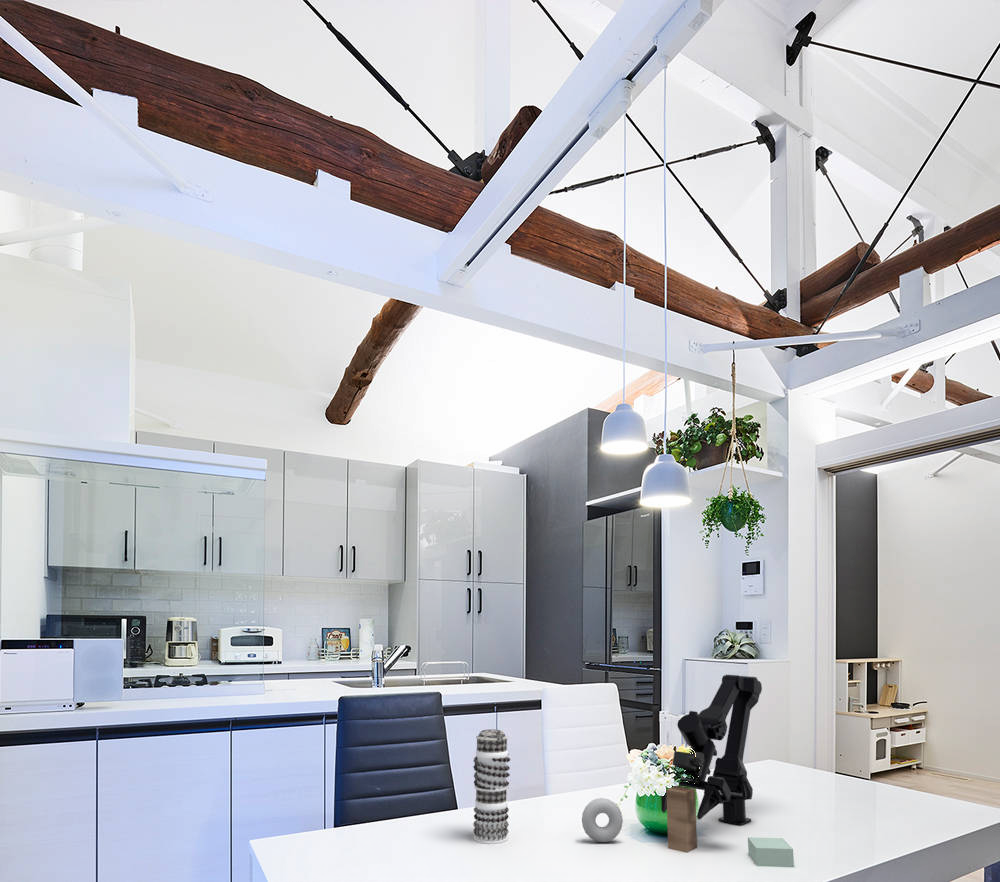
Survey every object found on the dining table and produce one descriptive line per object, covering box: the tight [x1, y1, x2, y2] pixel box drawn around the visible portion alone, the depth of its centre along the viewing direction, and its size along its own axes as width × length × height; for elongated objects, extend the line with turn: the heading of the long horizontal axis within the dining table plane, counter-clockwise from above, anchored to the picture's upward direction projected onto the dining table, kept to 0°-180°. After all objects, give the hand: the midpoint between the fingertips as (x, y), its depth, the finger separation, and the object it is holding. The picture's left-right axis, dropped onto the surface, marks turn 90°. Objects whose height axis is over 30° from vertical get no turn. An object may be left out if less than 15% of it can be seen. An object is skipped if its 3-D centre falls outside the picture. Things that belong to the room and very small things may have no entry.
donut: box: [581, 797, 624, 843], centre depth 192 cm, size 10×4×10 cm, turn 92°
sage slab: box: [747, 836, 795, 868], centre depth 179 cm, size 8×8×4 cm
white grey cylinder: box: [472, 728, 511, 845], centre depth 195 cm, size 9×9×25 cm
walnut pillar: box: [666, 785, 698, 853], centre depth 188 cm, size 5×5×13 cm
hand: (680, 815), depth 188 cm, fingers open, 9 cm apart
